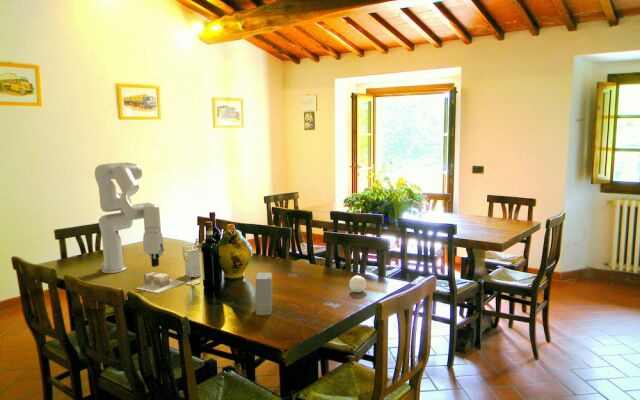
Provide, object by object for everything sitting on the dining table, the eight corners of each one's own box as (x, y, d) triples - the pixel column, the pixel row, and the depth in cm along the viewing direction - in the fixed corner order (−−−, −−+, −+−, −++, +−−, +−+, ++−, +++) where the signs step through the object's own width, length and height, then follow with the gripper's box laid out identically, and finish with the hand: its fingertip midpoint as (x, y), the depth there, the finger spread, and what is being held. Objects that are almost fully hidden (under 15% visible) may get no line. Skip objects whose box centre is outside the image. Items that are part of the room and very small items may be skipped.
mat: (135, 288, 230) (135, 288, 230) (164, 278, 246) (164, 277, 246) (157, 293, 223) (157, 292, 223) (185, 282, 239) (185, 281, 239)
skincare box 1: (201, 276, 248) (199, 249, 245) (189, 278, 244) (188, 250, 242) (195, 272, 254) (194, 246, 252) (184, 275, 251) (183, 247, 249)
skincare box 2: (256, 308, 201) (255, 272, 199) (273, 307, 202) (272, 271, 199) (255, 316, 193) (253, 278, 190) (273, 315, 193) (271, 277, 191)
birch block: (144, 274, 235) (161, 277, 230) (152, 271, 240) (169, 274, 234) (145, 284, 236) (162, 287, 230) (153, 281, 241) (170, 284, 235)
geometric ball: (353, 298, 218) (343, 284, 218) (361, 287, 224) (351, 274, 224) (364, 293, 213) (353, 280, 213) (372, 283, 219) (361, 269, 218)
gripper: (136, 230, 232) (138, 266, 235) (157, 232, 225) (160, 269, 228) (148, 227, 239) (150, 262, 241) (169, 229, 231) (172, 265, 234)
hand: (155, 266), depth 234 cm, fingers closed
